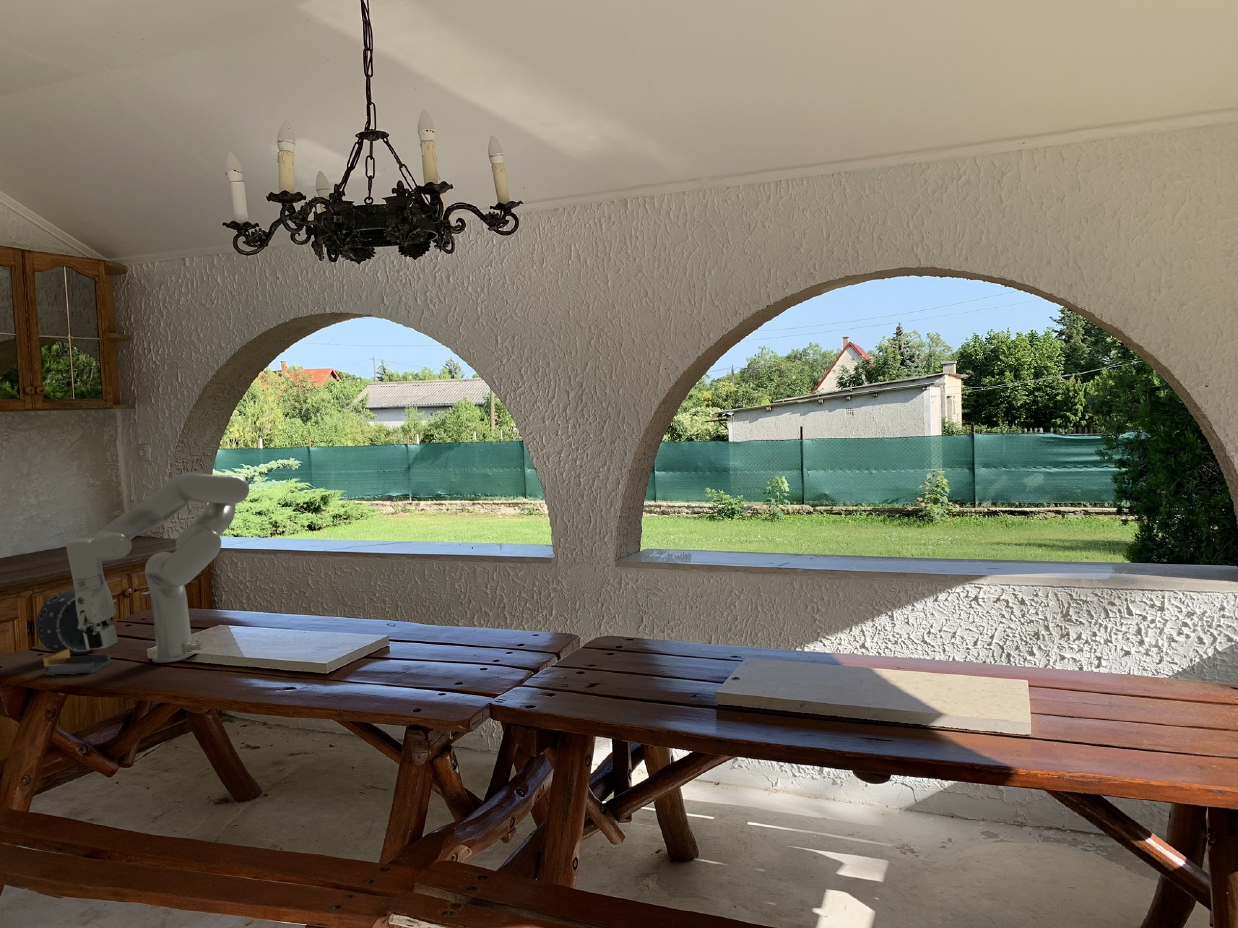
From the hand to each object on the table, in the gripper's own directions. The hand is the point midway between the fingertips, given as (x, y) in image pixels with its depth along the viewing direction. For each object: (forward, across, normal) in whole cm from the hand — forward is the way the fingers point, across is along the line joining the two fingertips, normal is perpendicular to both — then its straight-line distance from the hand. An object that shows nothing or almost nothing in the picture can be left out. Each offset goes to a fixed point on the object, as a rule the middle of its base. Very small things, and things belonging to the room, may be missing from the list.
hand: (101, 643), depth 254 cm
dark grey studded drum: (+9, +24, +26) cm, 37 cm away
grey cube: (+1, 0, 0) cm, 1 cm away
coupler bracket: (+9, +6, +13) cm, 17 cm away
